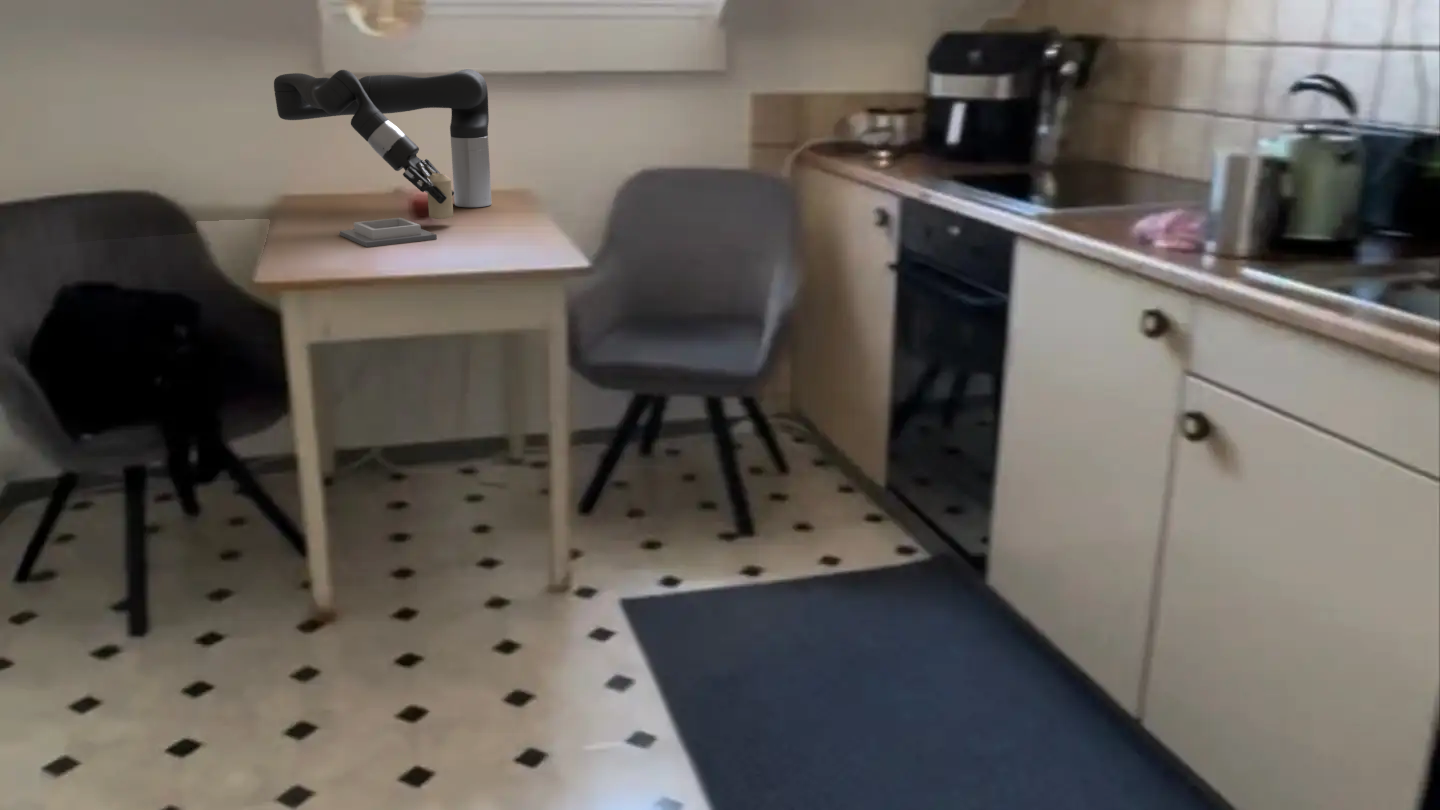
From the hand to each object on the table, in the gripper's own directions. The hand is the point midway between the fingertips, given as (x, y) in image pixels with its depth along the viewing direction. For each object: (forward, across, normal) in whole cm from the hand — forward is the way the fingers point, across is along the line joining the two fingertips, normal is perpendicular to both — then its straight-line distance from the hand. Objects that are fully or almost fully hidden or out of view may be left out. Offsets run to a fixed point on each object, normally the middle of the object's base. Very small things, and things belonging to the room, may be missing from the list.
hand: (447, 198), depth 286 cm
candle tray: (-2, +15, -11) cm, 19 cm away
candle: (+2, 0, -4) cm, 5 cm away
